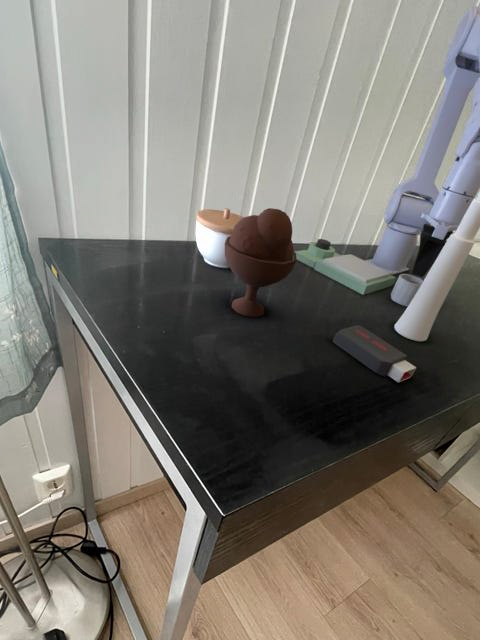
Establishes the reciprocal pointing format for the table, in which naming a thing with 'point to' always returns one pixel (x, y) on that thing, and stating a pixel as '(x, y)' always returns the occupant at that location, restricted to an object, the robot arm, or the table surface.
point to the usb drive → (374, 353)
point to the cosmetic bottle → (440, 278)
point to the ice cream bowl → (260, 255)
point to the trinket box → (214, 234)
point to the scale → (355, 273)
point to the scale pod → (315, 254)
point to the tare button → (323, 244)
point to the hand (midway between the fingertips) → (418, 270)
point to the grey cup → (405, 289)
